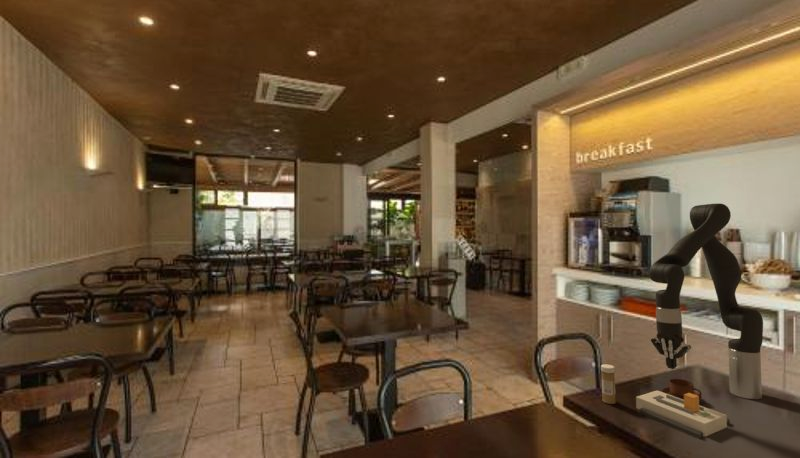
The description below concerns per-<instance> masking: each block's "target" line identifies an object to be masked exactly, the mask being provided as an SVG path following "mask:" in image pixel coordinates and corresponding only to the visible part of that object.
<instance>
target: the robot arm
mask: <svg viewBox="0 0 800 458" xmlns="http://www.w3.org/2000/svg"><path fill="white" fill-rule="evenodd" d="M731 216H732V215H731V210H730V208H729V207H728V205H726V204H724V203H707V204H698V205H694V206H693V207H691V208H690V211H689V220H690V224H691V225H692V229H693V230H692V231H691V232H690V233H688V234H686V235H685V236H682V237H681V238H680V239H679V240H678V241H676V243H675V244H674V245H673V246H672V247H671V249H670V250H669V251H668V252H667V253H666V254H664V255H663V256H661V257H660V258H658V259H657V260H656V261H654V263H653V264H652V265H651V266H650V268H649V270H648V276H649V279H650V280H651V281H653V282H655V283H657V284H666V287H665V289H659V290H657V291H656V292H655V304H656V305H655V307H656V308H655V323H656V331H657V334H656V337H653V338H651V339H650V342H651V343H652V345H653V346H654V348H655V350H657V351H658V353H659V354H660V355H661V356H662V355H663V356H664V358H665V364H666V367H667V369H671V370H674V369H676V368H677V367H678V362H677V359H680V358H682V357H684V356H685V355H686V354H687V353H688V352H689V351H690V350H691V349H692V346H691V345H690V344H687V343H686V342H685V339H684V337H683V320H682V311H681V301H680V298H681V297H680V295H681V292H682V289H683V284H684V280H685V272H684V269H683V268H684V267H687V265H689V264H690V262H691V261H692V260H693V258H694V257H695V256H696V254H697V253H698V252H699V250H701V249H702V252H703V254H704V258H705V261H706V265H707V268H708V271H709V275H710V277H711V280H712V283H713V286H714V290H715V293H716V296H717V301H718V302H717V303H718V306H719V307H718V308H719V313H720V318H721V321H722V323H723V324H724V326H725V327H726V328H728V329H730V330H734V331H738V332H740V337H739V338H732V339H729V340H728V341H727V342H728V372H729V374H728V376H729V378H728V379H729V380H728V382H729V393H731V394H732V395H734V396H737V397H738V398H739V397H740V398H743V399H748V400H760V399H762V398H763V397H762V395H763V391H762V387H763V386H762V362H761V361H762V360H761V359H762V357H761V356H762V355H761V347H762V345H763V341H764V340H763V339H764V338H763V337H764V336H763V335H764V319H763V318H764V317H763V316H762V314H761V312H759V311H758V310H757V309H754V308H750V307H743V306H739V303H738V300H737V297H736V292H737V291H736V290H737V288H738V287H739V284H740V282H741V279H742V270H741V267H740V263H739V260H738V258H737V257H736V256H735V254H734V253H733V252H732V251H731V250H730V249H729V248H728V247H727V246H725V244H723V243H722V242H721V241H720V240H719V238H717V236H716V235H717V234H718V233H719V232H721V231H722V230H723V229H724V228H725V227H727V225H728V224H729V223H730V220H731ZM679 348H680V349H679Z"/></svg>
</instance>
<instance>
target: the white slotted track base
mask: <svg viewBox="0 0 800 458" xmlns="http://www.w3.org/2000/svg"><path fill="white" fill-rule="evenodd" d="M638 411H639V414H640V415H643V416H645V417H647V418H650V419H651V420H654V421H657V422H659V423H661V424H664V425H666V426H669V427H671V428H673V429H675V430H677V431H680V432H683V433H685V434H687V435H689V436H692V437H694V438H696V437H697V439H699V440H701V439H702V438H703V437H704V436H703V432H700V431H698V430H696V429H693V428H691V427H688V426H686V425H683V424H681V423H679V422H676V421H674V420H671V419H669V418H666V417H664V416H661V415H659V414H657V413H654V412H652V411H649V410H647V409H644V408H640V409H638ZM730 421H731V420H730V419H729V418H727V427H728V426H730V423H731V422H730Z"/></svg>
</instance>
